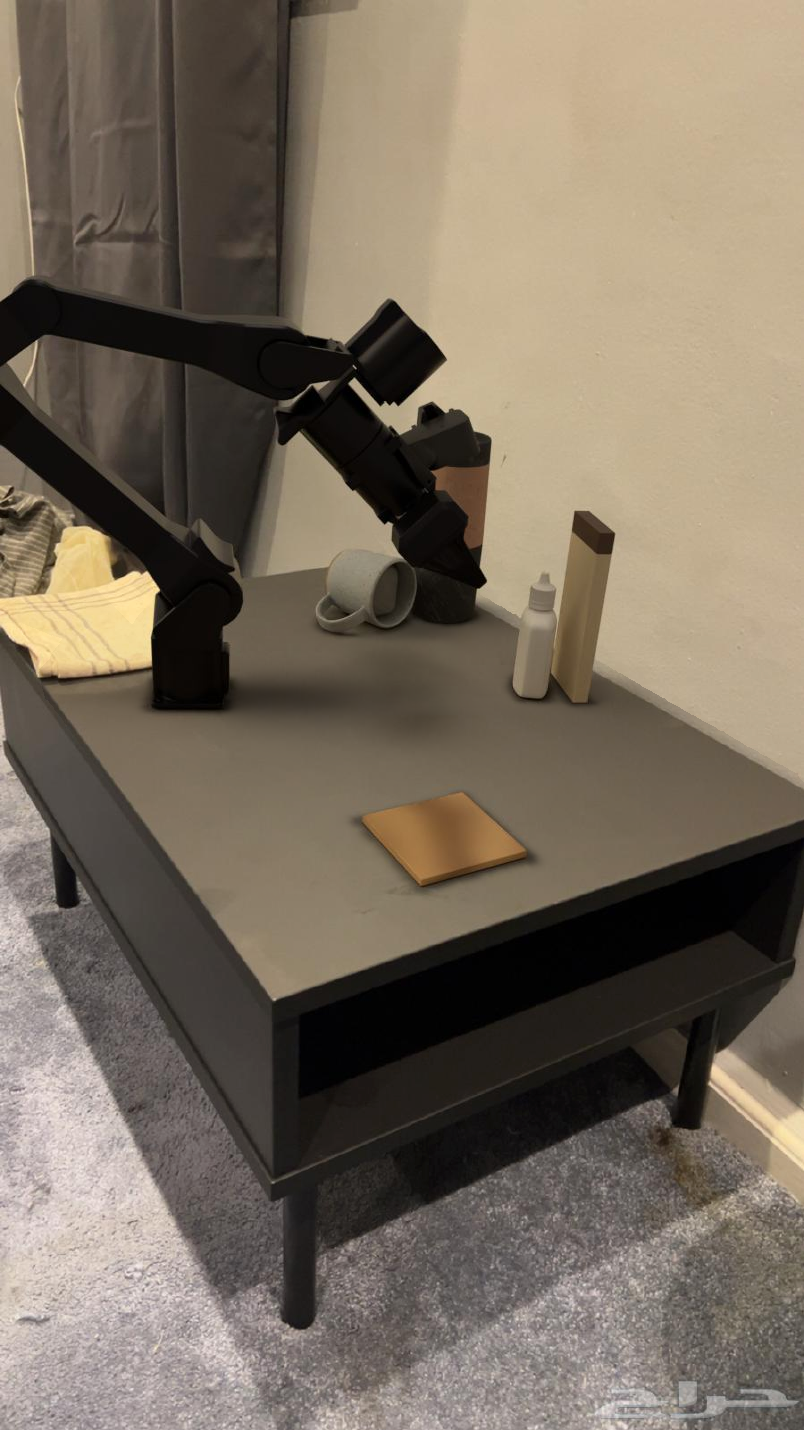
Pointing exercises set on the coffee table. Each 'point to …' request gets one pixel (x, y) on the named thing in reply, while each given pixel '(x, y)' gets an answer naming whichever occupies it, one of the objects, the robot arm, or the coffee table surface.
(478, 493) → the travel mug
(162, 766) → the coffee table surface
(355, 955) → the coffee table surface
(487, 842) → the cork coaster mat
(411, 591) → the ceramic mug
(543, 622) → the eye dropper bottle
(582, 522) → the tall wooden plank
